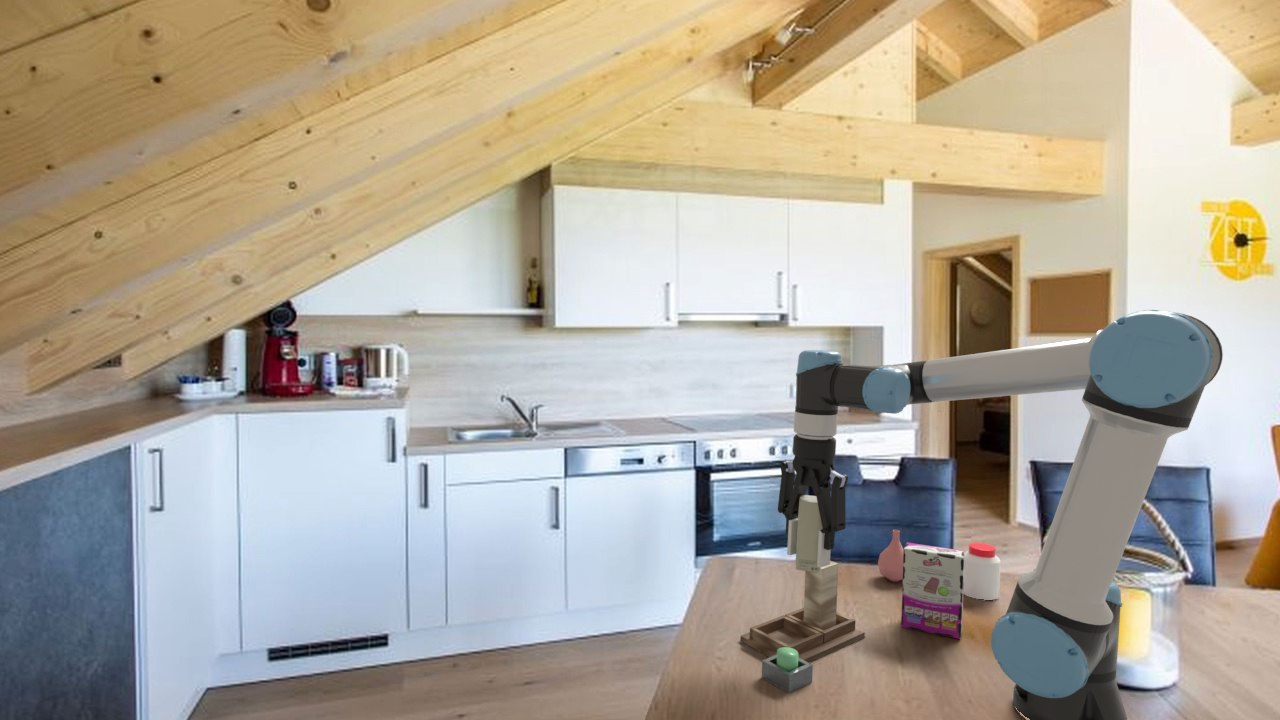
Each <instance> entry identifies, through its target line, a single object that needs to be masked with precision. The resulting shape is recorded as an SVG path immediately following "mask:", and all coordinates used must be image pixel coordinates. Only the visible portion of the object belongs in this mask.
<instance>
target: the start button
mask: <svg viewBox="0 0 1280 720" xmlns="http://www.w3.org/2000/svg"><path fill="white" fill-rule="evenodd" d="M777 666H779V667H780V668H782V669H784V670H786V671H788V672H790V671H792V670H795V669H797V668H798V652H797V651H796V650H795V649H793V648H789V647H782V648H779V649H778V650H777Z"/></svg>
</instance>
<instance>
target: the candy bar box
mask: <svg viewBox="0 0 1280 720" xmlns="http://www.w3.org/2000/svg"><path fill="white" fill-rule="evenodd" d="M903 549H904V554H903V580H902V588H901V590H902V591H901V593H902V594H901V614H900V615H901V617H900V618H901V619H900V621H901V622H900V624H901V625H900V627H902V628H904V629H910V630H914V631H919V632H923V633H928V634H934V635H937V636H942V637H948V638H953V639H957V640H958V639H959V640H961V639H962V632H963V619H964V618H963V615H964V613H963V612H964V611H963V610H964V594H963V592H964V591H963V590H964V558H965V552H966V551H965V550H960V549H953V548H946V547H940V546H932V545H926V544H918V543H913V542H906V543H905V546H904V548H903Z"/></svg>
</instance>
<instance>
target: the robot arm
mask: <svg viewBox="0 0 1280 720" xmlns="http://www.w3.org/2000/svg"><path fill="white" fill-rule="evenodd" d="M1223 357H1224V353H1223V346H1222V344H1221V341H1220V339H1219V337H1218V336H1217V334H1216V332H1215V331H1214V330H1213V328H1211V326H1209V325H1208V324H1207V323H1205V322H1204V321H1202V320H1201V319H1198V318H1196V317H1195V316H1193V315H1192V316H1191V315H1188V314H1186V313H1179V312H1173V311H1170V310H1157V309H1146V310H1141V311H1139V310H1138V311H1134V312H1131V313H1128V314H1126V315H1123V316H1121V317H1119V318H1117V319H1115V320H1114V321H1112V322H1110V323H1109V324H1108V325H1106V326H1105V327H1104V328H1103V329H1098V331H1096V333H1095V334H1094V335H1093V336H1092V337H1090V338H1082V339H1076V340H1074V339H1073V340H1068V341H1061V342H1060V341H1059V342H1054V343H1046V344H1045V343H1044V344H1037V345H1032V346H1031V345H1029V346H1023V347H1022V346H1021V347H1016V348H1010V349H1000V350H993V351H987V352H978V353H974V354H973V353H970V354H965V355H958V356H951V357H943V358H937V359H929V360H919V361H912V362H906V363H905V362H904V363H898V364H897V363H896V364H885V365H857V364H847V363H842V361H843V360H842V355H841V353H840V352H838V351H832V350H823V349H822V350H818V349H806V350H802V351H801V352H800V353H799V355H798V361H797V370H796V373H795V376H796V387H795V388H796V391H795V393H796V394H795V410H794V420H793V421H794V422H793V432H794V433H795V435H794V436H793V442H792V454H793V455H794V458H793V460H784V461H781V462H780V472H781V478H780V485H779V495H778V502H777V503H778V504H777V512H778V513H779V514H783V516H784V517H785V535H787V548H786V549H787V550H786V555H788V556H793V555H796V546H797V529H798V513H799V499H800V496H801V495H807V491H808V488H810V487H811V488H812V490H813V493H814V495H815V496H816V497H817V502H818V507H819V512H820V517H821V522H822V527H823V529H822V530H820V531H819V537H818V555H817V567H820V568H821V567H824V566H827V565H830V561H831V551H832V550H833V549H834V548H835V538H836V532H839V531H843V530H845V529H846V526H847V525H846V523H847V522H846V518H847V517H846V516H847V515H846V487H847V485H848V481H849V477H848V475H847V474H841V473H839V472H837V471H836V469H835V467H834V460H835V457H836V452H837V450H836V449H837V439H836V438H835V436H836V435H837V431H838V430H837V427H838V413H839V407H842V408H850V409H856V410H863V411H869V412H874V413H876V414H894V415H896V414H899V413H901V412H902V411H903V410H904V409H905V408H906V407H907V406H911V405H918V404H919V405H920V404H929V403H938V402H939V403H940V402H950V401H960V400H973V399H974V400H975V399H984V398H985V399H986V398H995V397H996V398H997V397H998V398H999V397H1006V396H1007V397H1008V396H1021V395H1032V394H1041V393H1044V394H1045V393H1053V392H1066V391H1067V392H1068V391H1077V390H1084V392H1083V396H1082V398H1081V401H1082V403H1083V404H1084V406H1085V408H1086V409H1087V411H1088V413H1089V418H1088V422H1087V424H1086V426H1085V428H1084V429H1085V430H1084V433H1083V435H1082V437H1081V441H1080V443H1079V446H1078V449H1077V452H1076V455H1075V457H1074V461H1073V463H1072V466H1071V468H1070V471H1069V474H1068V477H1067V480H1066V483H1065V485H1064V488H1063V491H1062V494H1061V497H1060V500H1059V502H1058V505H1057V509H1056V510H1055V513H1054V516H1053V520H1052V522H1051V524H1050V527H1049V530H1048V533H1047V537H1046V539H1045V540H1044V545H1043V546H1042V550H1041V552H1040V556H1039V558H1038V561H1037V564H1036V567H1035V568H1034V569H1033V571H1030V572H1027V573H1023V574H1021V575H1019V576H1020V577H1018V579H1017V582H1016V585H1015V587H1014V591H1013V593H1012V597H1011V599H1010V602H1009V605H1008V608H1007V610H1006V612H1005V614H1004V615H1002V616H1001V617H999V618H998V619H997V621H996V622H995V624H994V627H993V629H992V632H991V637H990V645H991V651H992V654H993V656H994V659H995V660H996V661H997V662H996V663H997V664H998V665H999V667H1000V670H1001V671H1002V672H1003V673H1004V675H1006V676H1007V677H1008V678H1009V679H1010V680H1011V681H1012V682H1013V683H1014V687H1013V692H1012V693H1013V697H1012V703H1014V705H1013V706H1015V707H1016V708H1017V710H1018V711H1019V712H1021V713H1022V714H1023V715H1024V716H1025V717H1027V718H1029V719H1030V720H1128V715H1127V713H1126V709H1125V706H1124V703H1123V699H1122V697H1121V694H1120V690H1119V687H1118V684H1117V667H1118V655H1119V654H1118V653H1119V650H1118V649H1119V636H1120V635H1119V634H1120V623H1121V622H1120V621H1121V608H1122V607H1123V603H1122V597H1121V596H1122V594H1121V593H1122V592H1121V589H1120V587H1119V586H1118V584H1117V583H1115V582H1114V578H1115V576H1116V573H1117V570H1118V567H1119V565H1120V563H1121V560H1122V557H1123V555H1124V553H1125V549H1126V547H1127V544H1128V542H1129V540H1130V536H1131V534H1132V532H1133V530H1134V526H1135V524H1136V522H1137V519H1138V516H1139V513H1140V511H1141V509H1142V506H1143V503H1144V501H1145V498H1146V496H1147V493H1148V491H1149V488H1150V485H1151V482H1152V480H1153V478H1154V475H1155V472H1156V470H1157V468H1158V464H1159V462H1160V460H1161V457H1162V454H1163V453H1164V449H1165V446H1166V444H1167V441H1168V440H1169V438H1171V437H1172V436H1175V435H1177V434H1179V433H1182V432H1184V431H1188V429H1189V428H1190V425H1191V422H1192V420H1193V418H1194V414H1195V412H1196V410H1197V407H1198V405H1199V402H1200V400H1201V397H1202V395H1203V392H1204V390H1205V388H1206V386H1207V385H1209V384H1210V383H1211V382H1212V381H1213V380H1214V379H1215V377H1216V376H1217V374H1218V373H1219V370H1221V369H1220V368H1221V366H1222V363H1223ZM1015 707H1014V708H1015Z"/></svg>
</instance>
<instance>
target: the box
mask: <svg viewBox="0 0 1280 720" xmlns="http://www.w3.org/2000/svg"><path fill="white" fill-rule="evenodd" d="M797 518H798V529H797V546H796V554H795V570H799V571H802V572H803V571H804V572H805V571H811V572H820V567H817V555H818V537H819V531H820V530H822V529H823V527H822V522H821V517H820V512H819V507H818V502H817V497H816V495H809V494H805V495H801V496H800V499H799V513H798V517H797Z"/></svg>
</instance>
